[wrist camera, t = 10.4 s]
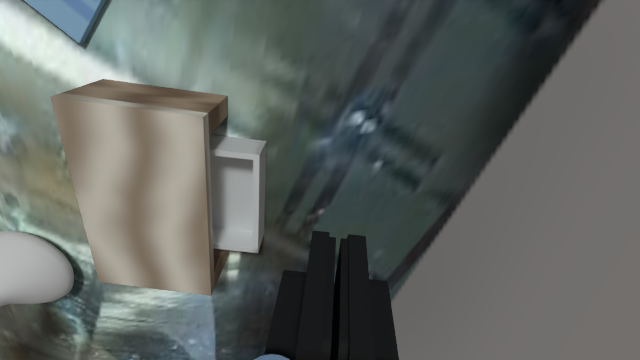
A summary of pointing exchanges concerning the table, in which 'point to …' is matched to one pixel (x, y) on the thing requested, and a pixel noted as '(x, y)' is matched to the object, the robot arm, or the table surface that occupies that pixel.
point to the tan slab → (144, 181)
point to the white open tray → (237, 192)
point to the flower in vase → (32, 270)
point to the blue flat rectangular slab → (70, 15)
